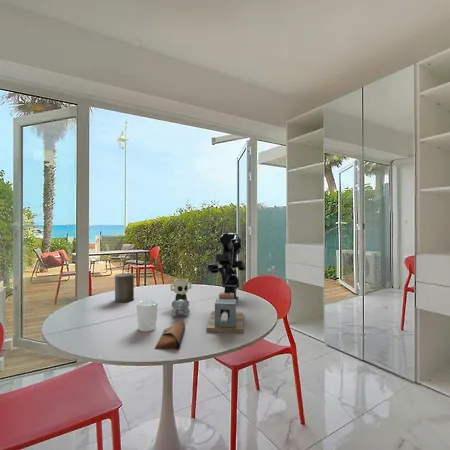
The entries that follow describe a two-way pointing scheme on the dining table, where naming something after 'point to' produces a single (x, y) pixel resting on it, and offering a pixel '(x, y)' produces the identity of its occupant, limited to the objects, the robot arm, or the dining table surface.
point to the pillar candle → (124, 287)
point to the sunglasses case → (171, 337)
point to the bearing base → (226, 329)
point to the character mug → (181, 288)
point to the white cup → (147, 315)
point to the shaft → (225, 312)
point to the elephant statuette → (180, 307)
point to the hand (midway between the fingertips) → (224, 283)
